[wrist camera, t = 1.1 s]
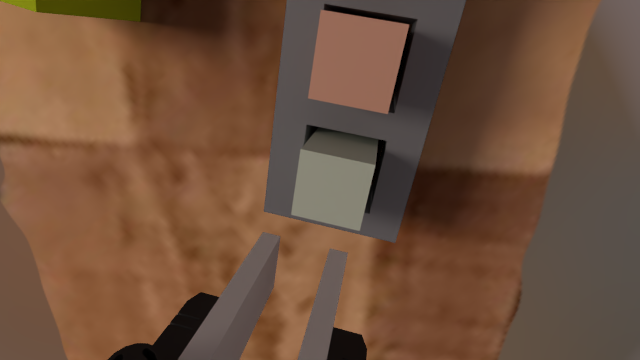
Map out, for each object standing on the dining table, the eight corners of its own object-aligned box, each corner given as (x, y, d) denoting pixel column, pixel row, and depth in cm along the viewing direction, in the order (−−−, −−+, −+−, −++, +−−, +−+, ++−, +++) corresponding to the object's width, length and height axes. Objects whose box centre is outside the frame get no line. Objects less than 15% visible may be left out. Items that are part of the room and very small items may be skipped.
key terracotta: (339, 19, 25) (320, 9, 19) (403, 29, 25) (409, 24, 18) (328, 84, 27) (307, 98, 20) (388, 96, 27) (387, 114, 20)
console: (328, -152, 24) (309, -211, 18) (489, -134, 23) (521, -190, 17) (284, 184, 34) (263, 211, 29) (394, 209, 33) (395, 242, 27)
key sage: (321, 123, 29) (300, 149, 22) (378, 135, 28) (375, 165, 21) (313, 176, 30) (291, 214, 24) (366, 188, 30) (359, 230, 23)
